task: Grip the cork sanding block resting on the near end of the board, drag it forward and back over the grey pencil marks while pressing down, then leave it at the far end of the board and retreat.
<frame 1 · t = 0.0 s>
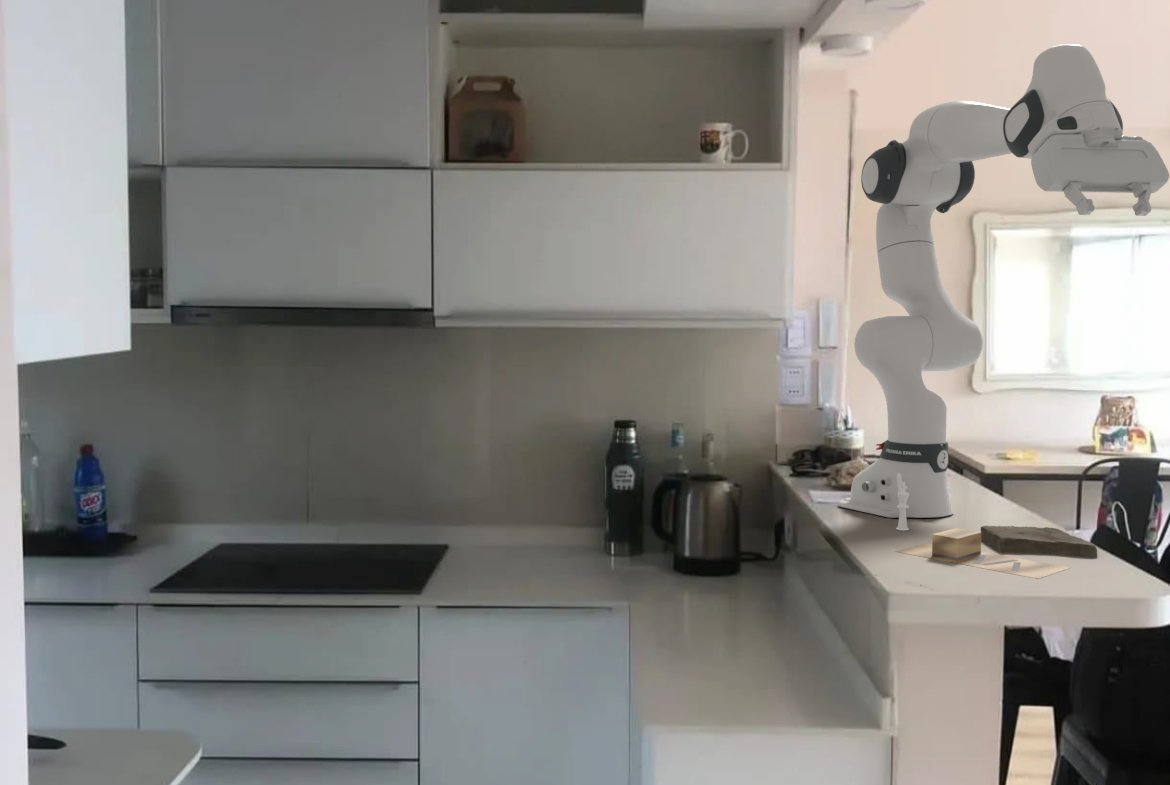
hand: (1115, 213, 160), 54 cm above the counter, tool tilted 30°, fingers open, 8 cm apart
chess piece: (902, 539, 194), on the counter
board: (979, 568, 171), on the counter
sanding block: (956, 555, 174), point 1 cm above the counter, touching board
marble piece: (1033, 558, 181), on the counter
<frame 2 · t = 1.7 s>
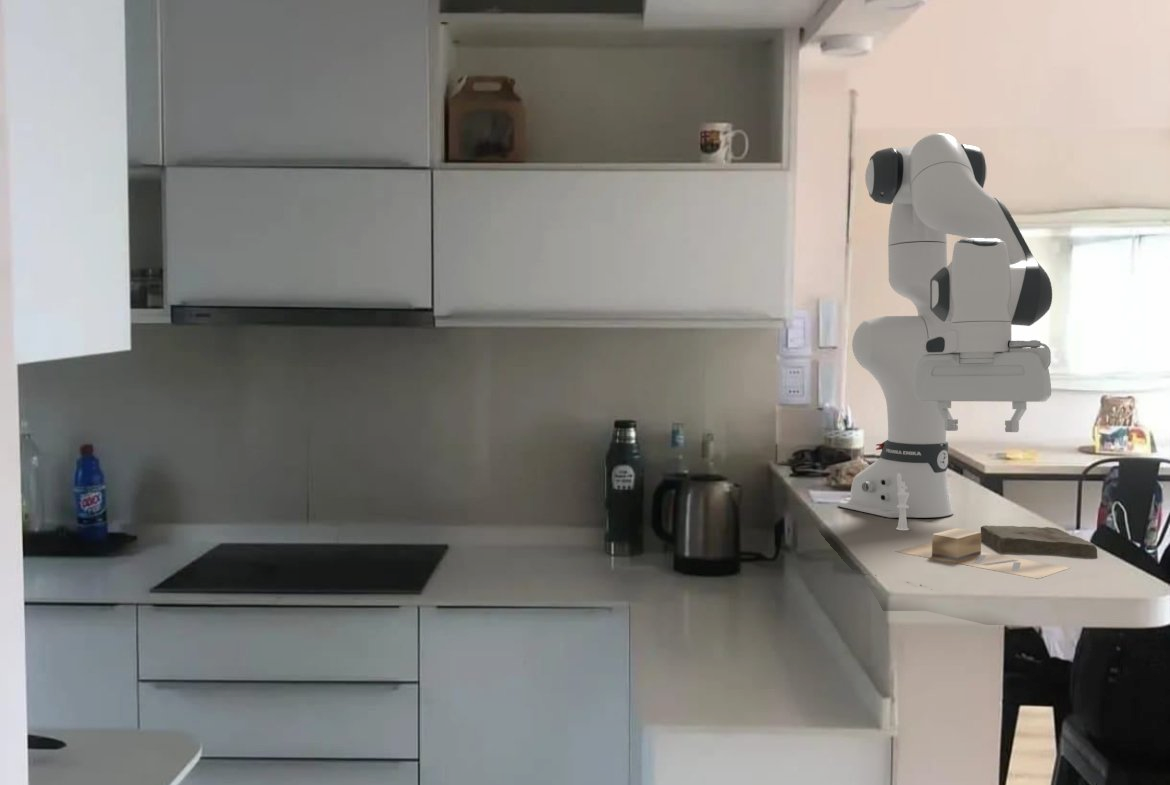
hand: (981, 431, 169), 22 cm above the counter, tool pointing down, fingers open, 8 cm apart
nothing on the counter moved.
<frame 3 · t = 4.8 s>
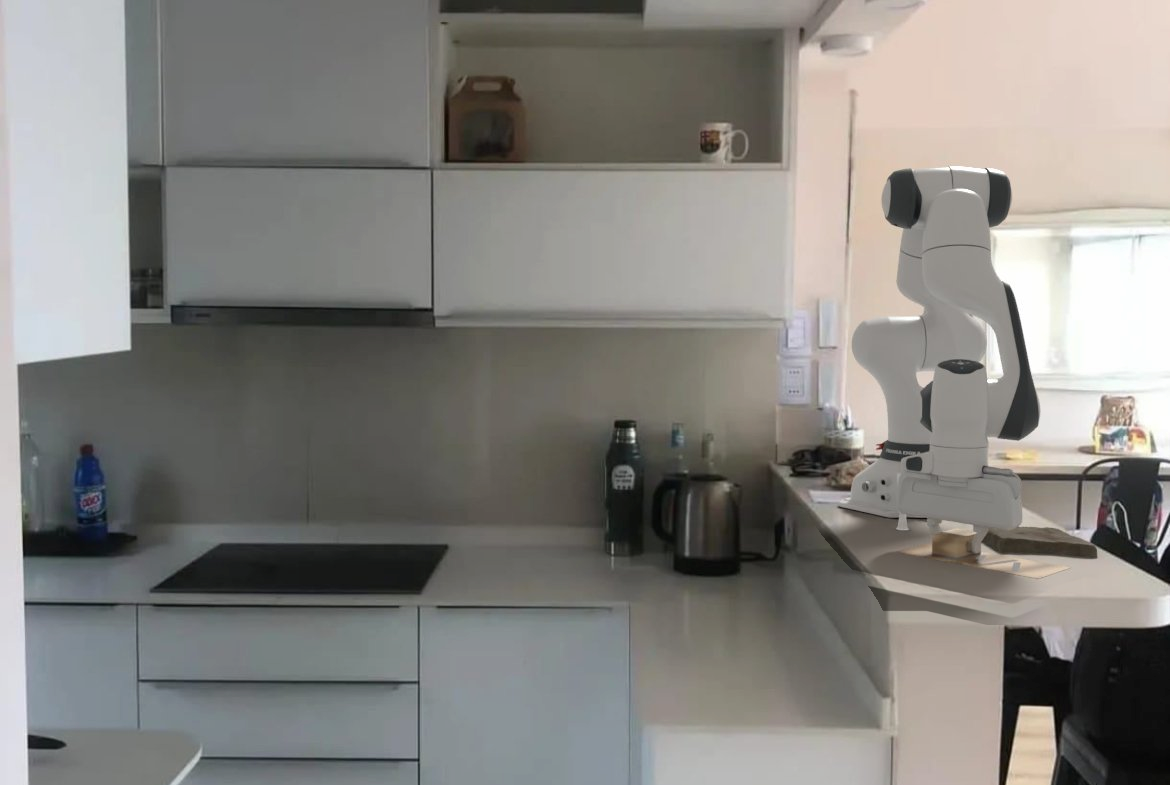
hand: (956, 549, 174), 2 cm above the counter, tool pointing down, fingers closed on sanding block, 4 cm apart
sanding block: (956, 554, 174), point 1 cm above the counter, touching board, gripper
everything else where it was.
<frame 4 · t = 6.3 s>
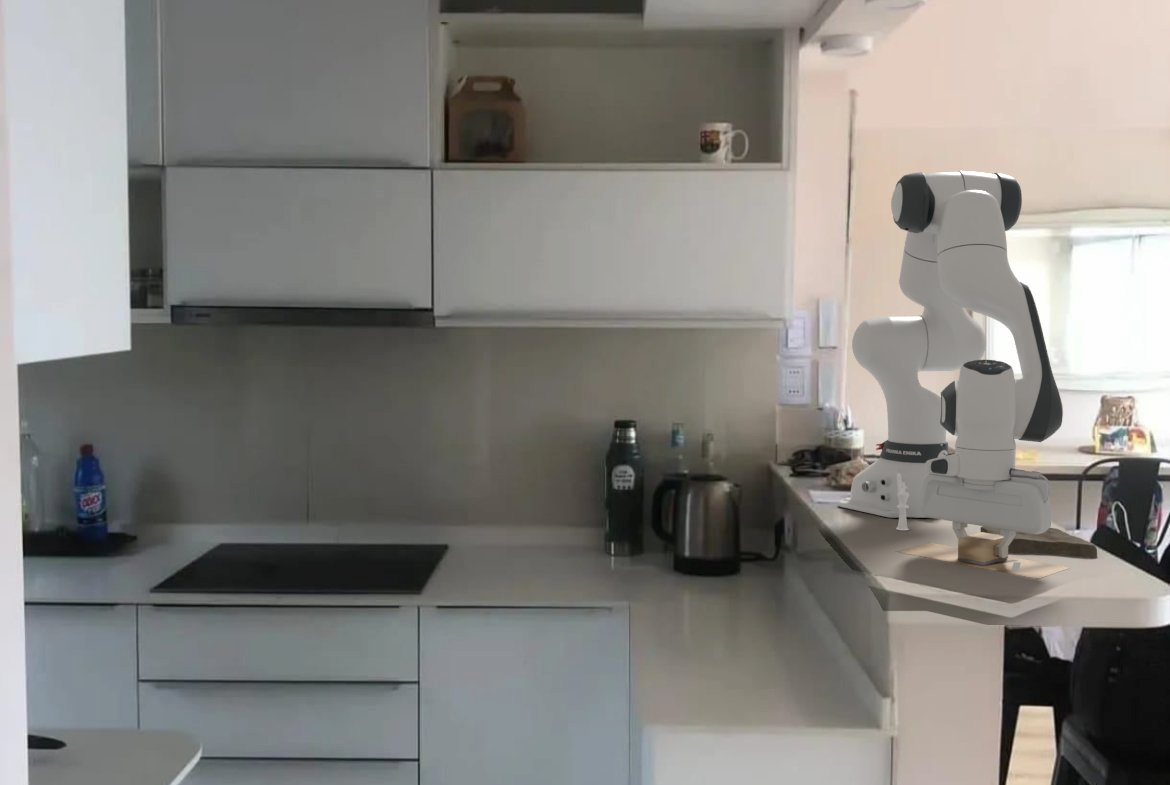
hand: (983, 553, 170), 2 cm above the counter, tool pointing down, fingers closed on sanding block, 4 cm apart
sanding block: (982, 559, 171), point 2 cm above the counter, touching gripper
everything else where it was.
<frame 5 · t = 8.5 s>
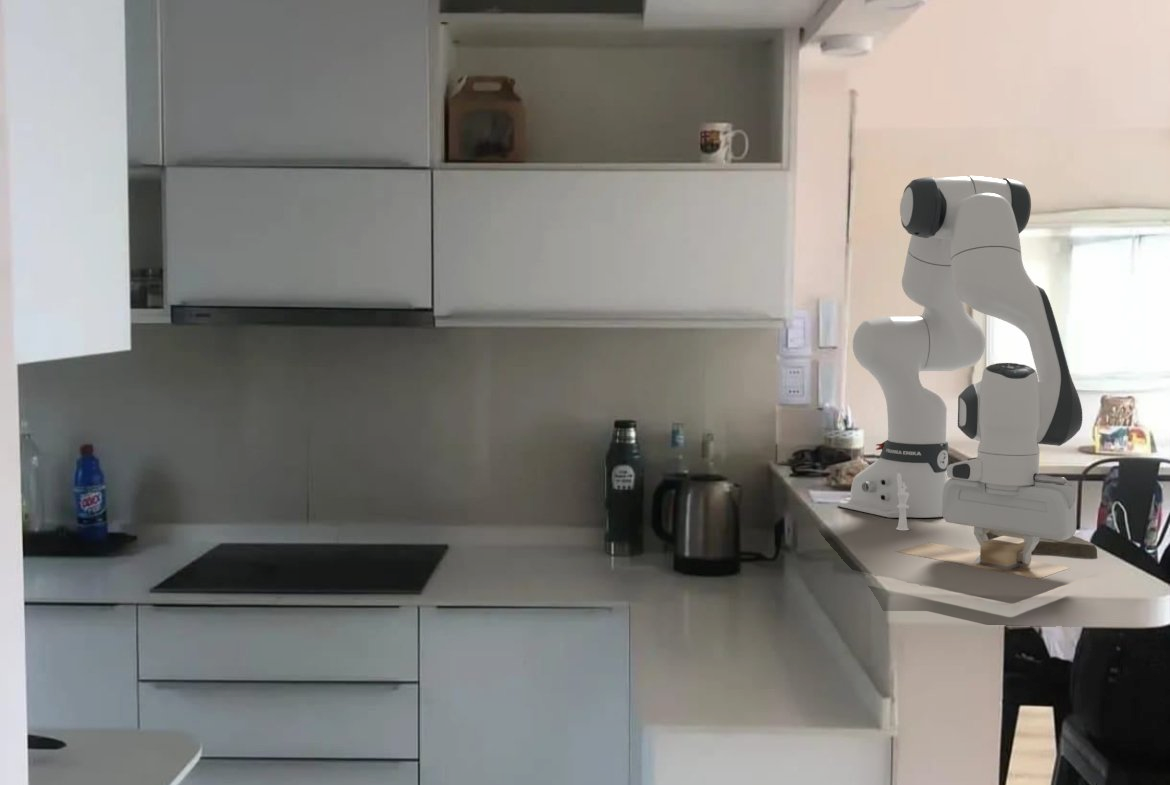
hand: (1005, 559, 168), 2 cm above the counter, tool pointing down, fingers closed on sanding block, 4 cm apart
sanding block: (1005, 563, 168), point 2 cm above the counter, touching board, gripper
everything else where it was.
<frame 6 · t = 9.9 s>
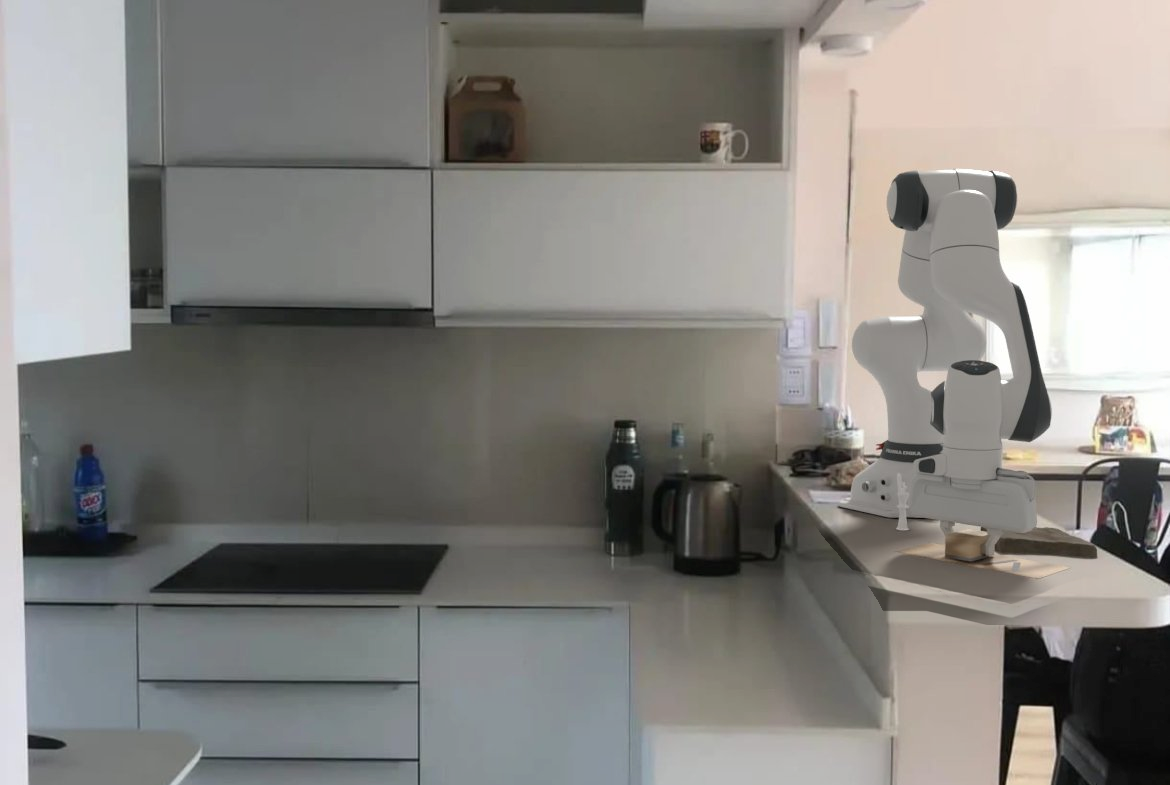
hand: (969, 552, 172), 2 cm above the counter, tool pointing down, fingers closed on sanding block, 4 cm apart
sanding block: (969, 555, 172), point 2 cm above the counter, touching gripper
everything else where it was.
when the fingers open (2 cm above the counter, at t = 13.0 s): sanding block stays where it is, resting on board.
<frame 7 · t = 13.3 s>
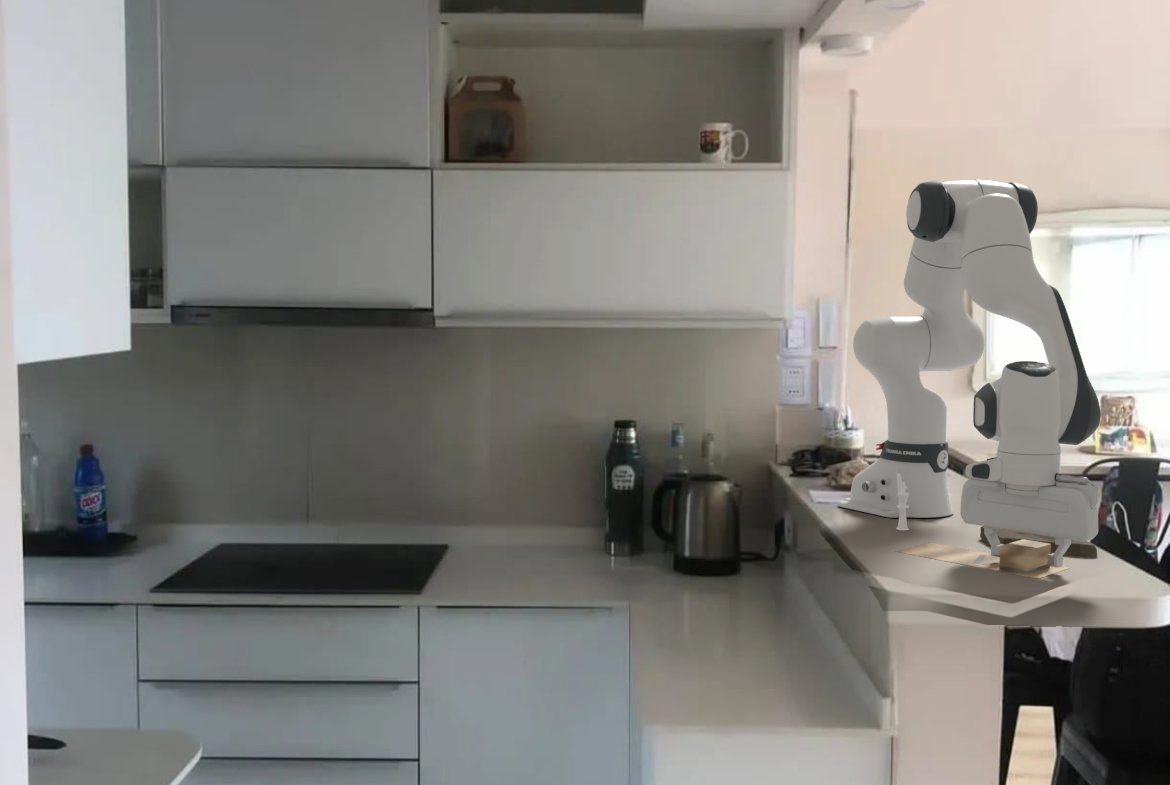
hand: (1025, 561, 165), 2 cm above the counter, tool pointing down, fingers open, 8 cm apart
sanding block: (1024, 567, 165), point 2 cm above the counter, touching board
everything else where it was.
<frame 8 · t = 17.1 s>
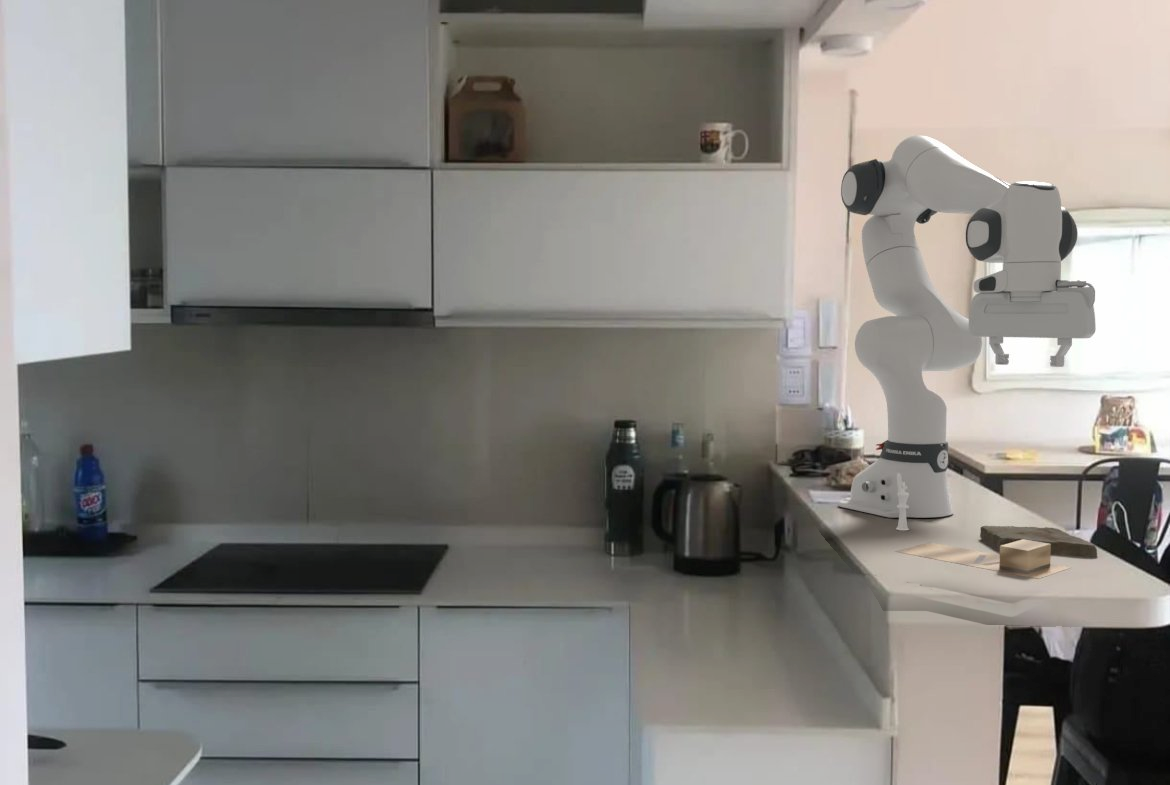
hand: (1029, 365, 180), 31 cm above the counter, tool pointing down, fingers open, 8 cm apart
nothing on the counter moved.
at the end: sanding block inside the target area (0.4 cm from its centre), point 1.5 cm above the counter; sanding block touching board; sanding block moved 11.4 cm from its start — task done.
